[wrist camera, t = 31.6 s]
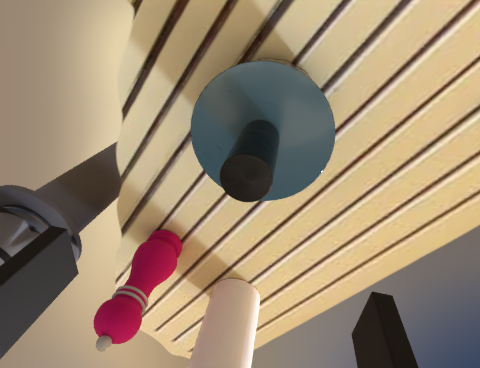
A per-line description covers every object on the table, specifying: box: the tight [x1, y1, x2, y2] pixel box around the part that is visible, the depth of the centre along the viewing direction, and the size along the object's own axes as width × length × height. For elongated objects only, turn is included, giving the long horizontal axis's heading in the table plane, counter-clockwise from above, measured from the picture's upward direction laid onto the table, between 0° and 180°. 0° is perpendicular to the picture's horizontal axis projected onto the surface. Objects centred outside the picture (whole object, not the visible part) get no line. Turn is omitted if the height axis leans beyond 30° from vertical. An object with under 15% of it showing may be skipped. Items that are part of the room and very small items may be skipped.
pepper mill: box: [94, 230, 182, 351], centre depth 43 cm, size 7×7×20 cm
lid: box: [191, 60, 335, 202], centre depth 25 cm, size 15×15×10 cm
